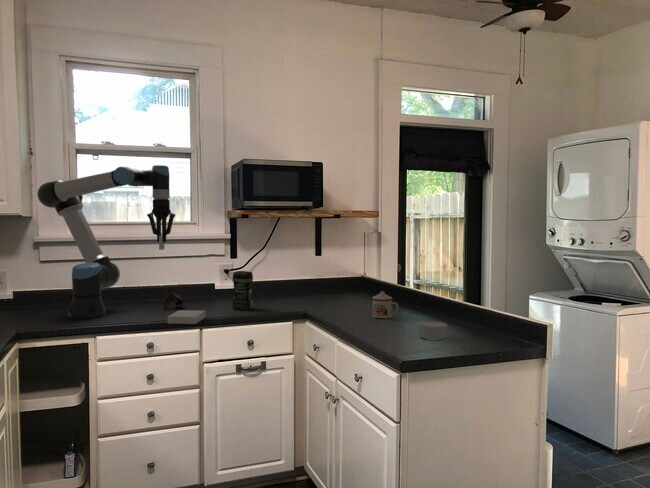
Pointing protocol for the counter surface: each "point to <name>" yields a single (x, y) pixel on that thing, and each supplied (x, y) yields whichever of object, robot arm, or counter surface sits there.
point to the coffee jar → (242, 290)
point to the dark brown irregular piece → (175, 298)
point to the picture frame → (186, 317)
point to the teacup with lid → (383, 306)
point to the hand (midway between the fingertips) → (161, 249)
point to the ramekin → (431, 329)
